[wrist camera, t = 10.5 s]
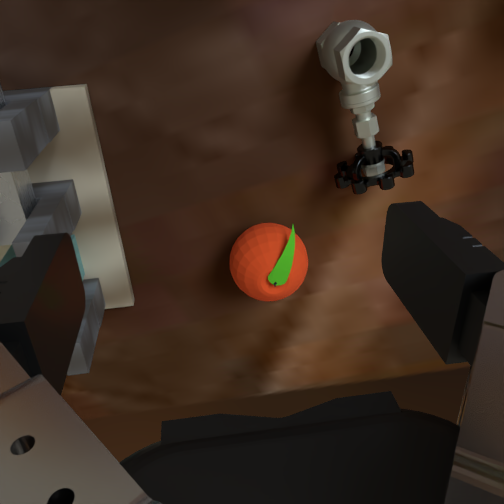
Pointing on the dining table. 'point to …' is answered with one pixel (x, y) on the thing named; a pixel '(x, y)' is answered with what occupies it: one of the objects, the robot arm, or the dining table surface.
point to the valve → (362, 101)
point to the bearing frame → (67, 195)
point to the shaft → (14, 199)
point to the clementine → (268, 261)
